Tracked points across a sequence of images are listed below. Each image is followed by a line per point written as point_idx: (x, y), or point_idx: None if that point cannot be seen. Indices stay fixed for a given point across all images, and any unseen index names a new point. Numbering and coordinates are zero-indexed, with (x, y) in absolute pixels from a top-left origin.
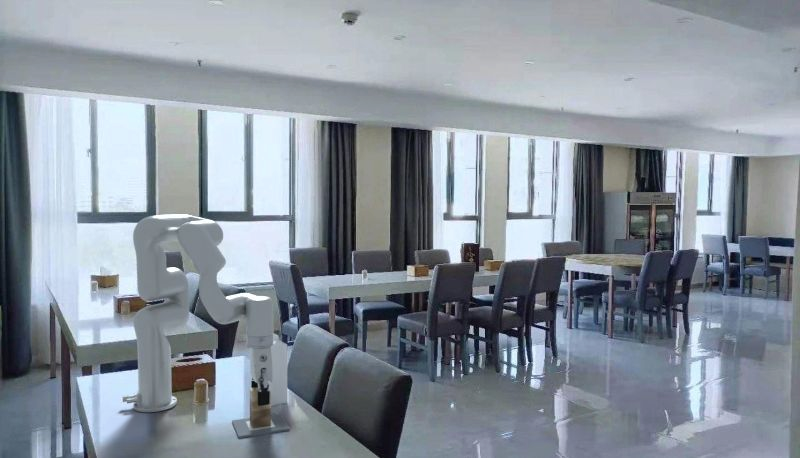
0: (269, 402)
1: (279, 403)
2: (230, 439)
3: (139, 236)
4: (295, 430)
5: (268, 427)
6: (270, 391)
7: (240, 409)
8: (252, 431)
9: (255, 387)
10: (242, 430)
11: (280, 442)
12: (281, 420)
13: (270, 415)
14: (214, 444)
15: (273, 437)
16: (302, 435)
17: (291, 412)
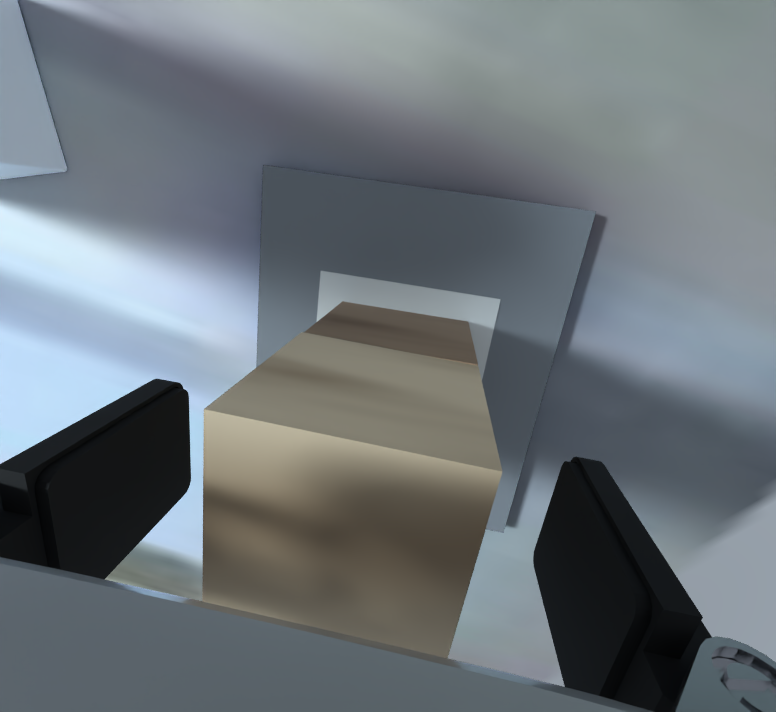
0: (604, 469)
1: (37, 80)
2: (486, 556)
3: None
4: (623, 168)
5: (486, 345)
6: (500, 471)
7: (72, 368)
8: None
9: (204, 564)
10: None
11: (743, 351)
12: (408, 210)
13: (473, 346)
14: (498, 627)
15: (627, 359)
16: (759, 154)
17: (246, 49)
